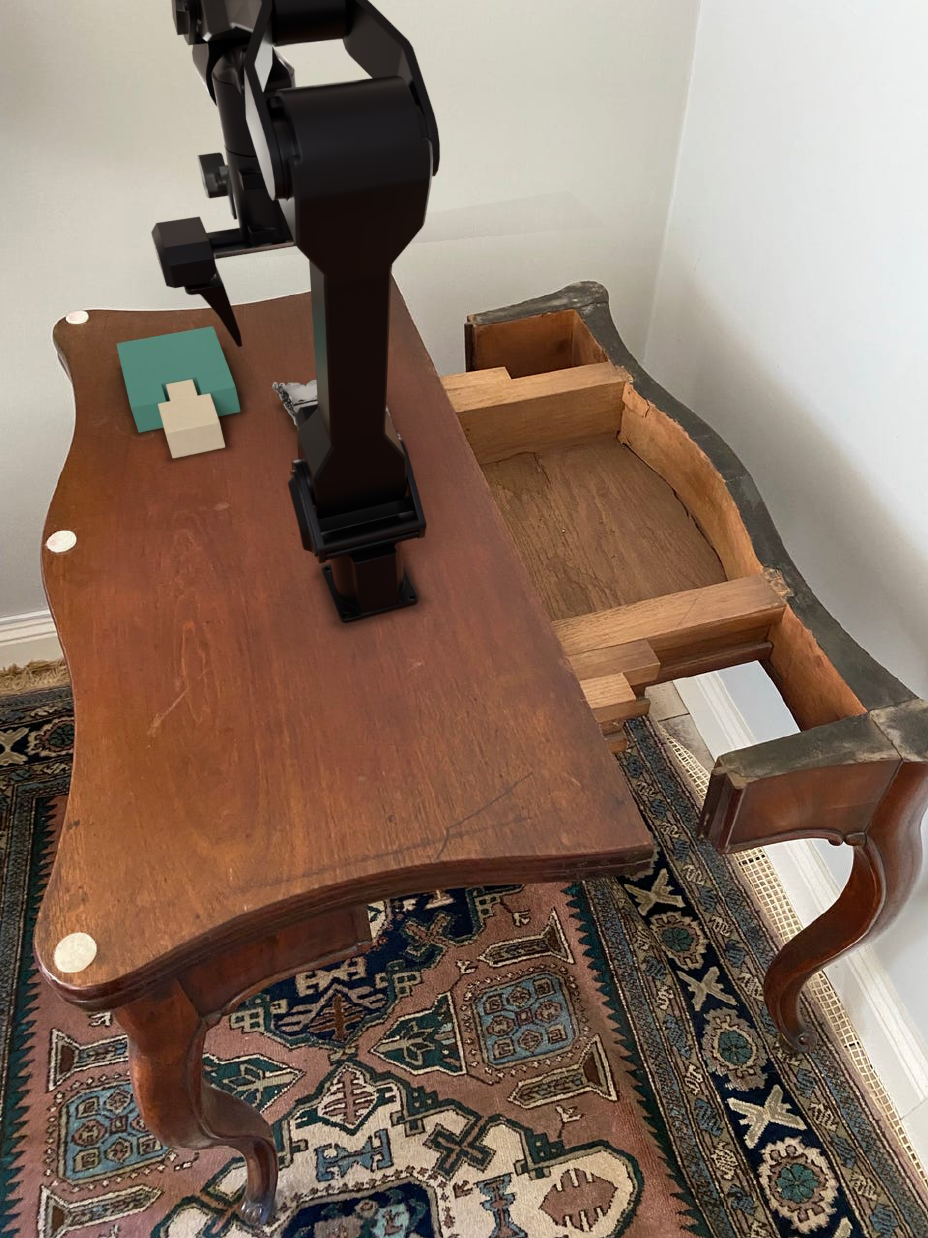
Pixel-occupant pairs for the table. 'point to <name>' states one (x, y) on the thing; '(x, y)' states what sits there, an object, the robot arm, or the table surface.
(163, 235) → the robot arm
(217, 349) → the teal pad
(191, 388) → the cream tabbed block
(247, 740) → the table surface
